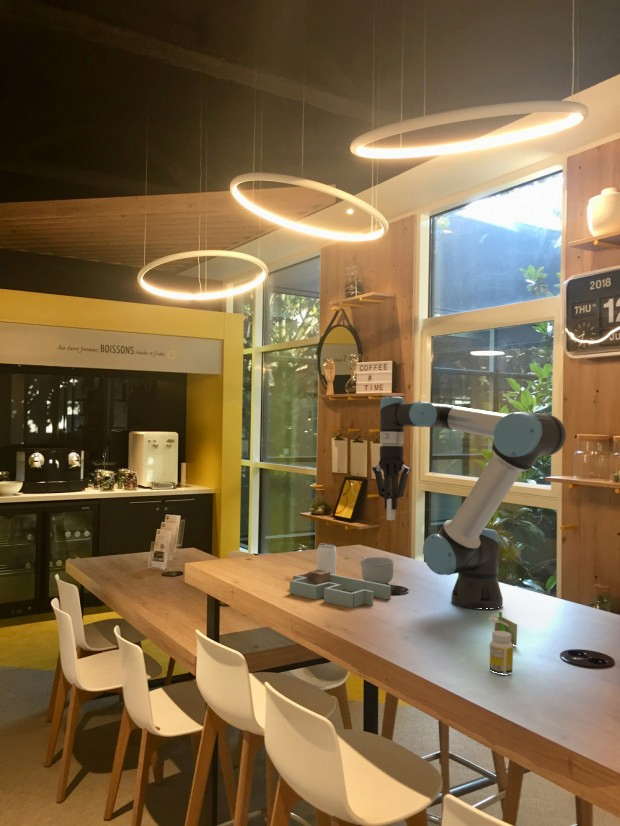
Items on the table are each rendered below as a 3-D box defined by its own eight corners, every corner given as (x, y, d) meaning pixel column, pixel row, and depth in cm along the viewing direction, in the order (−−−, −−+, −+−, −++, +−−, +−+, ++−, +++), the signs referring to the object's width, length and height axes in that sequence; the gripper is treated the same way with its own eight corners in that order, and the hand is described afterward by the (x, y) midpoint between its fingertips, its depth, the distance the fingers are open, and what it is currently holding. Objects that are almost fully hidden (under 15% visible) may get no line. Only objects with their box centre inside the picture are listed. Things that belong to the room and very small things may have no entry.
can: (335, 579, 237) (337, 544, 237) (334, 583, 231) (336, 547, 231) (316, 578, 238) (318, 542, 238) (315, 582, 231) (316, 546, 231)
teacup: (398, 586, 230) (399, 562, 230) (369, 588, 226) (370, 563, 226) (379, 577, 243) (380, 554, 243) (351, 579, 239) (351, 555, 239)
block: (329, 587, 225) (330, 572, 225) (320, 590, 221) (320, 574, 221) (317, 584, 228) (317, 569, 228) (307, 587, 224) (308, 571, 224)
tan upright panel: (501, 649, 169) (502, 616, 169) (487, 640, 175) (488, 608, 175) (516, 648, 170) (517, 615, 170) (501, 640, 176) (502, 608, 176)
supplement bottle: (508, 668, 154) (509, 630, 154) (515, 676, 149) (516, 636, 149) (486, 668, 153) (488, 629, 154) (493, 675, 149) (494, 636, 149)
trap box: (390, 599, 212) (391, 585, 212) (359, 609, 198) (359, 595, 199) (313, 582, 230) (313, 570, 230) (279, 591, 216) (280, 578, 216)
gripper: (367, 445, 223) (367, 519, 222) (404, 445, 215) (403, 522, 214) (379, 445, 229) (378, 517, 228) (415, 445, 222) (414, 520, 220)
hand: (390, 519), depth 221 cm, fingers closed
